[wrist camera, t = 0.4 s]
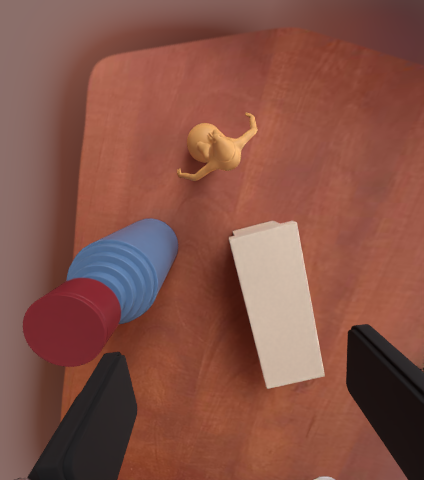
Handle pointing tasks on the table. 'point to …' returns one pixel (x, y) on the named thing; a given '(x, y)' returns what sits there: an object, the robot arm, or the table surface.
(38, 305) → the cap
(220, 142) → the figurine
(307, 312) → the cream lidded box
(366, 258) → the table surface
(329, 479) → the dixie cup
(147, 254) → the bottle
